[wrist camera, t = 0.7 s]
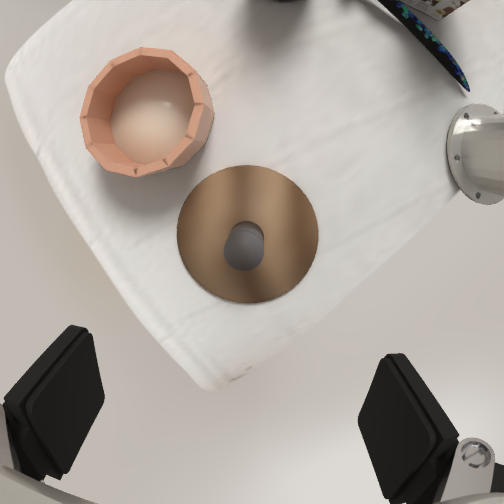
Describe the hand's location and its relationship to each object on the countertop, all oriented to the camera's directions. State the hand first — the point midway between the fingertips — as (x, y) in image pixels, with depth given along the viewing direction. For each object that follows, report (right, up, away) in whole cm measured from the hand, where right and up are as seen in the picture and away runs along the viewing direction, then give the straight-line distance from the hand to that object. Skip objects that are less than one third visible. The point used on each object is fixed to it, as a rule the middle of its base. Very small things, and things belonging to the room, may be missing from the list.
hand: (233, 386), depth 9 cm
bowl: (-9, +18, +21) cm, 29 cm away
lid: (0, +6, +25) cm, 25 cm away
